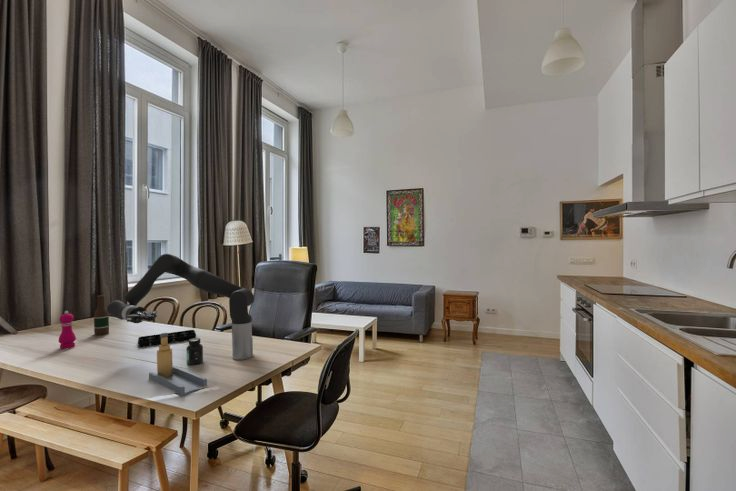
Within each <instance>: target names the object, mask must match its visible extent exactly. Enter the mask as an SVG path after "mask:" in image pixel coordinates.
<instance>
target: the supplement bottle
mask: <svg viewBox="0 0 736 491" xmlns="http://www.w3.org/2000/svg"><path fill="white" fill-rule="evenodd" d="M185 351H186V365H187V366H190V367H193V366H198V365H201V364H203V363H204V346H203V344H201V338H200V337H195V338H193V339H190V340H189V341H188V345H187V347H186V350H185Z"/></svg>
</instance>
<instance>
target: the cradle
mask: <svg viewBox="0 0 736 491" xmlns="http://www.w3.org/2000/svg"><path fill="white" fill-rule="evenodd" d="M148 379H149V380H150V381H153V382H155V383H157V384H159V385H161V386H163V387H165V388H168V389H170V390H171V391H173V394H174V395H177V396H178V397H180V398H182V397H186V396H188V395H190V394H194V393H196V392H199V391H202V390H204V389H205V387H206V386H208V378H206V377H204V376H201V375H200V374H199V375H198V374H196V373H194V372H191V371H188V370H186V369H184V368H181V367H179V366H176V365H173V376H172V377H170V378H165V377H162V376H160V375H158V374H157V373H156V372H153V371H150V372H148Z"/></svg>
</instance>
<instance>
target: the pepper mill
mask: <svg viewBox="0 0 736 491" xmlns="http://www.w3.org/2000/svg"><path fill="white" fill-rule="evenodd" d="M74 319H75V316H74V315H73V314H72V313H69V311H68V310H64V314H62V315H61V316H60V317H59V322H60V326H61V333H60V335H59V337H58V343H59V344H60V345H59V349H60V348H61V350H67V349H66V348H68V349H72V348H75V346H76V343H75V341H76V339H77V336H76V335H75V332H74V331H73V325H74V324H73V321H74ZM71 347H72V348H71Z"/></svg>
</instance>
